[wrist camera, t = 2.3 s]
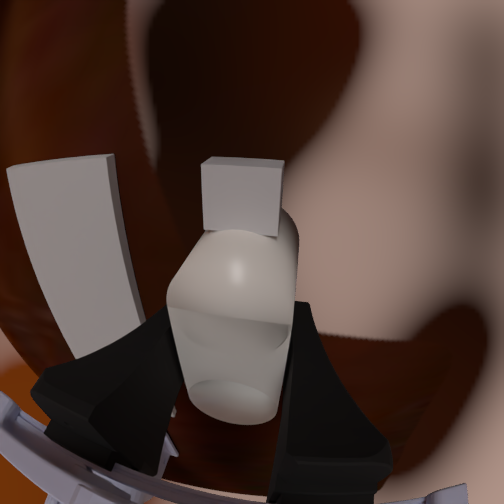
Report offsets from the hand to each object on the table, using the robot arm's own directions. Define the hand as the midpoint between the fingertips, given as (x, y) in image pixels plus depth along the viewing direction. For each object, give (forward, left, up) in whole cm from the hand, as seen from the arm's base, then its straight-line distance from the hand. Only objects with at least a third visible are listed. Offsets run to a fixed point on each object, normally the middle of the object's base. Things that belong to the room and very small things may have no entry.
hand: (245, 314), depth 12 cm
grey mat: (-4, +10, -2) cm, 11 cm away
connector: (0, 0, -2) cm, 2 cm away
